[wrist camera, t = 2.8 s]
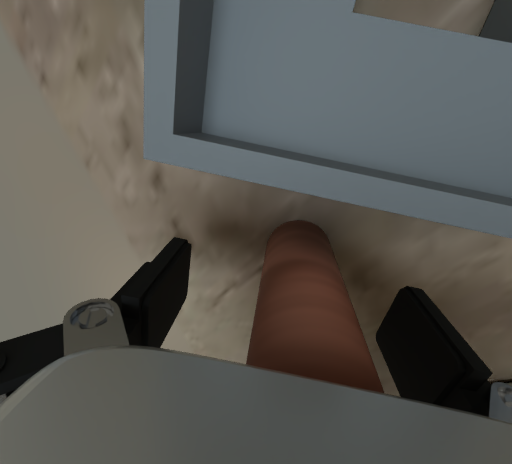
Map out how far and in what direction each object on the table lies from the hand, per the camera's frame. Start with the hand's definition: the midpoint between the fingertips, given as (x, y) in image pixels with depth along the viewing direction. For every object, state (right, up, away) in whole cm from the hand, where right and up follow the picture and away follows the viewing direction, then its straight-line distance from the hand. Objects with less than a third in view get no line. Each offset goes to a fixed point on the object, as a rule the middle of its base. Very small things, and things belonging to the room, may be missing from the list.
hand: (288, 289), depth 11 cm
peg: (+1, +1, +5) cm, 5 cm away
